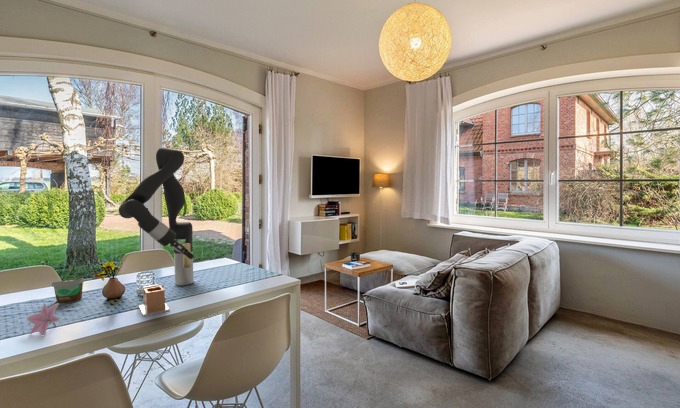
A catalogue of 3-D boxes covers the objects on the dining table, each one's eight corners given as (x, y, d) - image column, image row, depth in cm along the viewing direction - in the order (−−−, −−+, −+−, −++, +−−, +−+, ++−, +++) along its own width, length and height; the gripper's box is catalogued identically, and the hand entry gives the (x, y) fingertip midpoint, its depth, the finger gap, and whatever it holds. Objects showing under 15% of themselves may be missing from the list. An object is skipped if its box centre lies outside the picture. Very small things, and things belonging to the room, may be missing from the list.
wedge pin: (182, 266, 162) (181, 243, 162) (189, 265, 164) (189, 242, 164) (184, 268, 160) (183, 244, 159) (191, 267, 162) (191, 243, 161)
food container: (49, 306, 156) (47, 284, 155) (53, 301, 161) (51, 280, 160) (83, 301, 162) (81, 280, 161) (85, 297, 167) (84, 277, 166)
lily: (28, 331, 133) (15, 315, 127) (63, 311, 141) (52, 295, 135) (40, 348, 127) (27, 332, 122) (76, 326, 135) (65, 310, 129)
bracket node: (138, 307, 154) (137, 286, 154) (163, 302, 161) (162, 282, 160) (143, 316, 144) (142, 294, 143) (169, 310, 150) (168, 289, 149)
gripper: (171, 229, 151) (201, 253, 159) (164, 225, 162) (193, 248, 170) (158, 242, 148) (189, 266, 156) (152, 238, 159) (181, 260, 167)
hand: (191, 256), depth 163 cm, fingers closed on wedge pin, 3 cm apart
